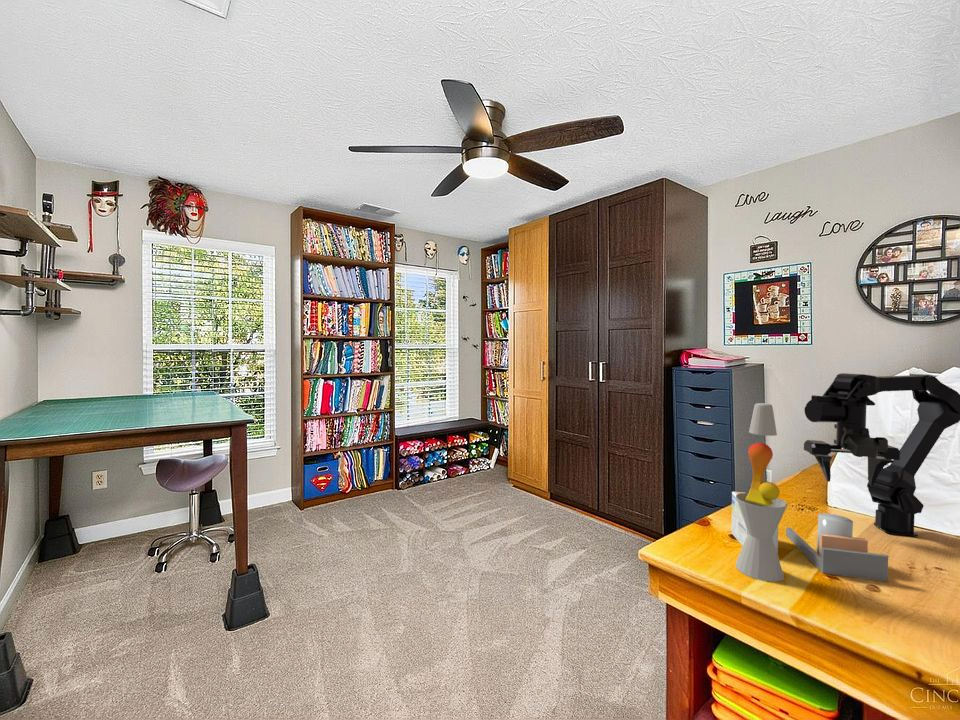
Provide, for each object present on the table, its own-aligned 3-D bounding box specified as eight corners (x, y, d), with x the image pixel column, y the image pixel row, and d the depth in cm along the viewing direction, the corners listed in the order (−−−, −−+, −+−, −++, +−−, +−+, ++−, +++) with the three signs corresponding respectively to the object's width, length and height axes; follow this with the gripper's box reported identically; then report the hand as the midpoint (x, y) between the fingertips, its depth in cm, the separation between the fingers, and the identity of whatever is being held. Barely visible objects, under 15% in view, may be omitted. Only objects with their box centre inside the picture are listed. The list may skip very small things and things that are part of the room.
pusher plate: (863, 566, 94) (864, 538, 94) (867, 569, 93) (867, 540, 93) (818, 560, 97) (819, 533, 96) (821, 563, 95) (822, 535, 95)
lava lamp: (726, 568, 93) (730, 402, 92) (744, 556, 99) (749, 400, 98) (775, 587, 86) (780, 407, 85) (792, 573, 92) (797, 404, 91)
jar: (842, 554, 101) (844, 515, 100) (857, 566, 95) (858, 525, 95) (812, 550, 102) (813, 512, 102) (824, 562, 96) (825, 521, 96)
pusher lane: (837, 540, 108) (838, 520, 108) (887, 581, 89) (888, 556, 89) (785, 535, 111) (786, 515, 111) (822, 573, 92) (823, 549, 92)
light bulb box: (778, 555, 100) (780, 507, 100) (746, 551, 101) (747, 505, 101) (759, 535, 110) (760, 492, 110) (729, 533, 112) (730, 490, 112)
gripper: (822, 425, 108) (821, 488, 109) (917, 430, 103) (914, 496, 103) (803, 418, 119) (802, 476, 119) (888, 422, 114) (886, 483, 114)
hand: (849, 482), depth 114 cm, fingers open, 9 cm apart
